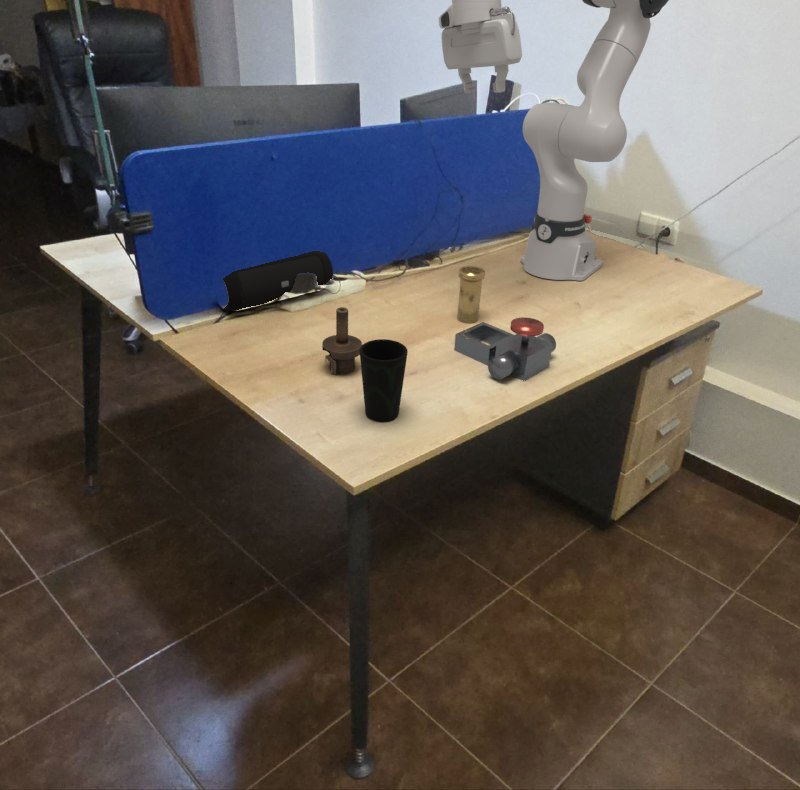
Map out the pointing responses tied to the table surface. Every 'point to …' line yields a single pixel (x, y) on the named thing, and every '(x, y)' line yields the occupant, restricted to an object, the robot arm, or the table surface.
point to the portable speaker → (273, 279)
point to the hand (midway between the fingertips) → (484, 92)
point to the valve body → (508, 348)
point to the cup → (382, 378)
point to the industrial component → (341, 345)
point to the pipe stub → (469, 293)
